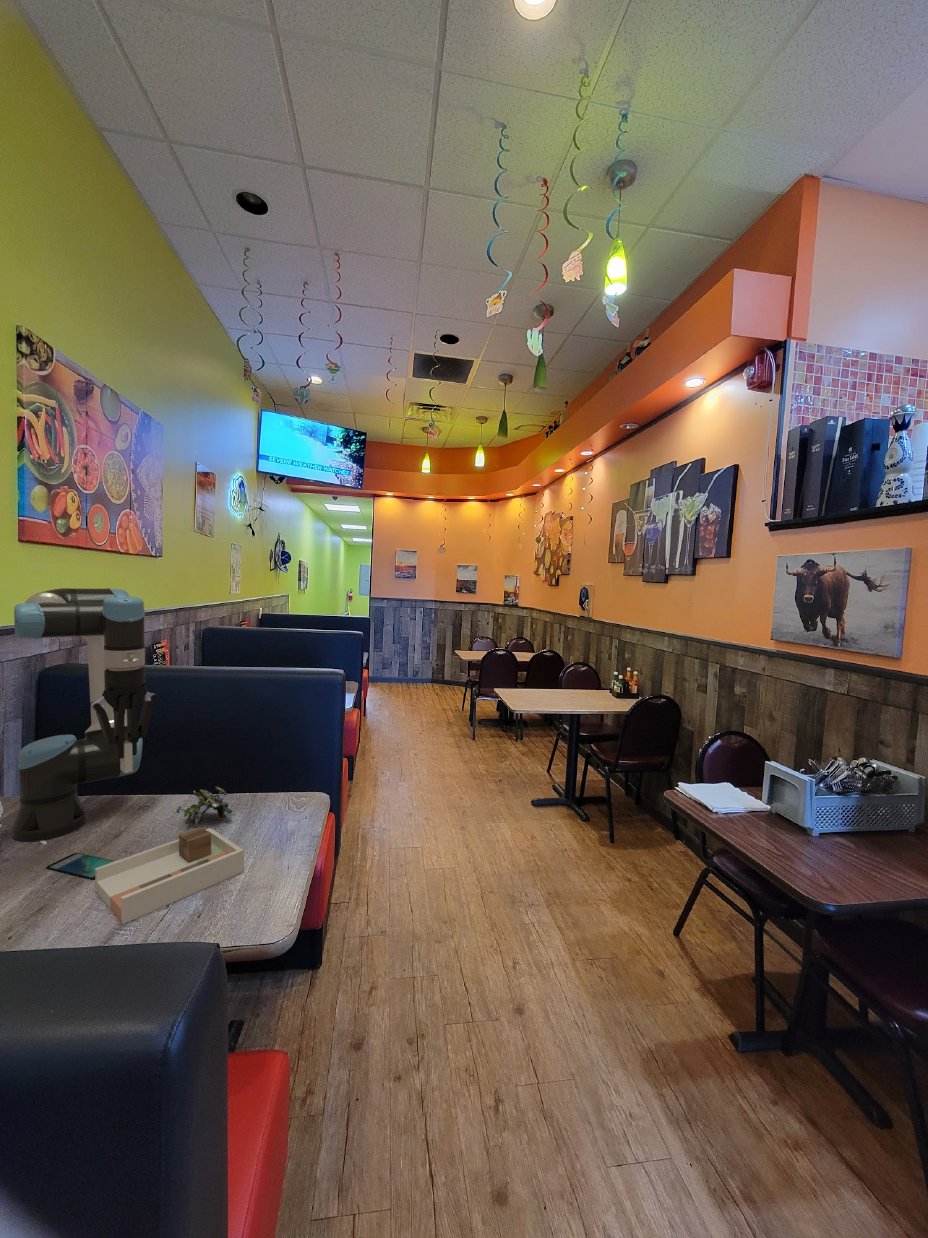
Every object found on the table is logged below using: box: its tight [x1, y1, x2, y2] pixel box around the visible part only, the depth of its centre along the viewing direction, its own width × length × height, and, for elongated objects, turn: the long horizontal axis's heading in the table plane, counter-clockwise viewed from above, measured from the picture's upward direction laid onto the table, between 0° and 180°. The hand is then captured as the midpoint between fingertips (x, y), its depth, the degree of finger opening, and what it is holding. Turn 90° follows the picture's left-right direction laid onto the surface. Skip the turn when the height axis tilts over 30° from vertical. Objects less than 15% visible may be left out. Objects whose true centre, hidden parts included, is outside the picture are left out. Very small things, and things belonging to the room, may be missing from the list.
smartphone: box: [45, 852, 116, 881], centre depth 118 cm, size 7×1×15 cm
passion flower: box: [176, 786, 233, 829], centre depth 140 cm, size 11×11×12 cm
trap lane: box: [94, 827, 245, 925], centre depth 113 cm, size 16×24×5 cm, turn 141°
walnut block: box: [178, 826, 211, 863], centre depth 119 cm, size 5×5×5 cm
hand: (126, 770), depth 116 cm, fingers closed
